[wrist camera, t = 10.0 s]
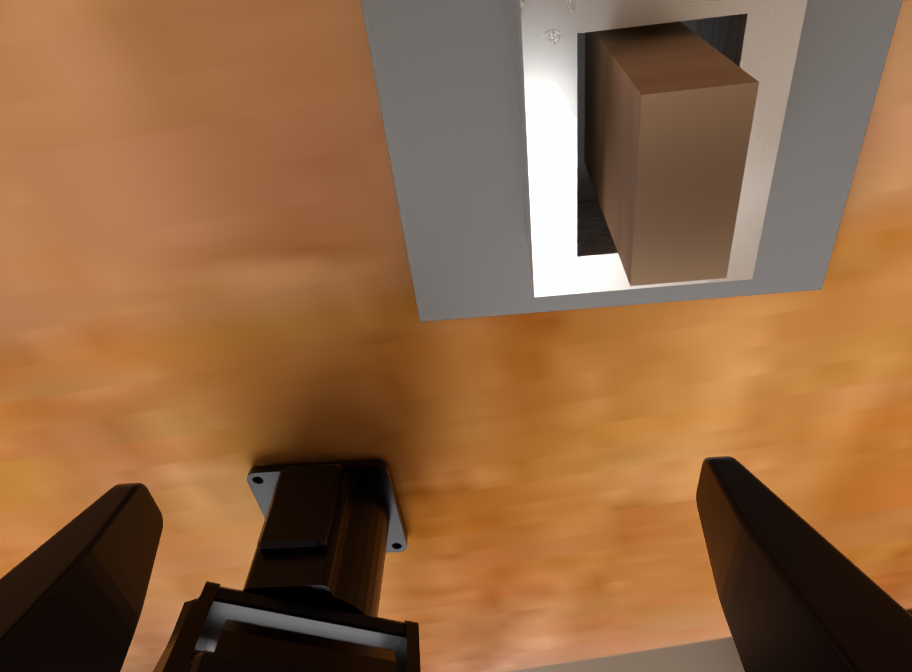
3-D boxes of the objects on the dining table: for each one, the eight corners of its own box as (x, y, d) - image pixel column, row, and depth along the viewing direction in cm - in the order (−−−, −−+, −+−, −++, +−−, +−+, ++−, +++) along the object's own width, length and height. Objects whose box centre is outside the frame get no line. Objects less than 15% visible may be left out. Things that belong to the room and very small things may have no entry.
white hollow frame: (713, 221, 20) (752, 279, 17) (526, 238, 21) (534, 297, 18) (756, -74, 15) (819, -60, 12) (511, -42, 16) (519, -23, 13)
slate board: (811, 277, 22) (821, 289, 22) (421, 309, 23) (419, 321, 23) (953, -262, 14) (977, -268, 13) (335, -169, 15) (329, -170, 14)
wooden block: (651, 155, 19) (726, 277, 13) (584, 162, 19) (630, 286, 13) (662, 8, 16) (759, 82, 11) (585, 17, 17) (641, 95, 11)
